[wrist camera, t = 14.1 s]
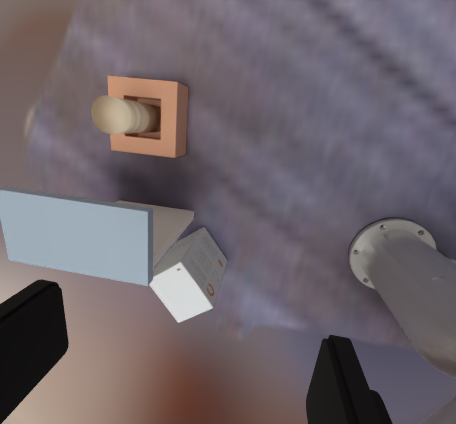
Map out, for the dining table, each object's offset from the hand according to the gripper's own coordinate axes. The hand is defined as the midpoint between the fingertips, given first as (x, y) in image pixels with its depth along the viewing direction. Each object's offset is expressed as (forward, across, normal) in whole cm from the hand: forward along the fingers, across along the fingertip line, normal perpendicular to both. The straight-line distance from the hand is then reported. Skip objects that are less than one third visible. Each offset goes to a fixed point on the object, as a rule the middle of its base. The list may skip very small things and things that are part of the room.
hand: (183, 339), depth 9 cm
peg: (+33, +16, -7) cm, 38 cm away
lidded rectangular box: (+34, +16, +6) cm, 38 cm away
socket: (+34, +16, -7) cm, 38 cm away
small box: (+34, +7, +15) cm, 38 cm away
